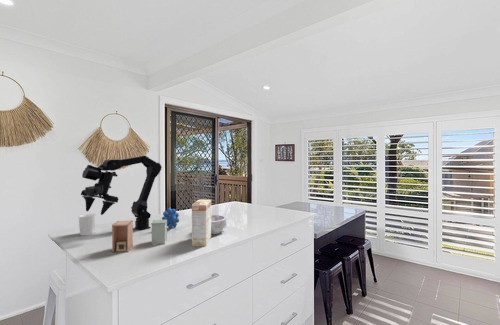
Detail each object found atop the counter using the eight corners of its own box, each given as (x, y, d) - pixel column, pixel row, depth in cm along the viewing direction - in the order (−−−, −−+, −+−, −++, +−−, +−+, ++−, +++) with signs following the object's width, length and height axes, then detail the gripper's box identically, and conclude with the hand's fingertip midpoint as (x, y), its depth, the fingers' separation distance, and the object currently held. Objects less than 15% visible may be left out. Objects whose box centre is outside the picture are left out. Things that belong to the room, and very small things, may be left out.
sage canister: (154, 240, 131) (153, 220, 131) (167, 239, 132) (167, 219, 132) (151, 244, 125) (151, 223, 125) (165, 244, 126) (165, 222, 126)
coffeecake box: (198, 236, 138) (198, 199, 138) (211, 236, 138) (211, 199, 137) (191, 246, 123) (191, 204, 123) (206, 246, 123) (206, 204, 122)
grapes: (167, 232, 145) (167, 210, 145) (159, 230, 149) (159, 209, 149) (183, 227, 155) (183, 207, 154) (176, 225, 159) (176, 205, 158)
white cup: (88, 236, 137) (87, 217, 137) (75, 235, 138) (74, 216, 138) (99, 232, 145) (99, 214, 144) (87, 231, 146) (87, 213, 146)
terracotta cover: (117, 247, 121) (117, 221, 121) (132, 246, 122) (132, 220, 122) (112, 252, 115) (112, 225, 114) (128, 251, 115) (128, 224, 115)
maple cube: (119, 248, 120) (119, 239, 120) (128, 247, 121) (128, 239, 120) (116, 251, 116) (116, 242, 116) (126, 251, 117) (126, 242, 116)
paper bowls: (192, 233, 143) (192, 219, 142) (209, 227, 156) (209, 213, 156) (215, 237, 136) (215, 222, 135) (231, 230, 149) (231, 216, 149)
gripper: (77, 176, 131) (65, 207, 128) (107, 182, 126) (96, 215, 122) (94, 181, 141) (84, 210, 138) (123, 187, 136) (113, 217, 133)
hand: (94, 213), depth 133 cm, fingers open, 9 cm apart
